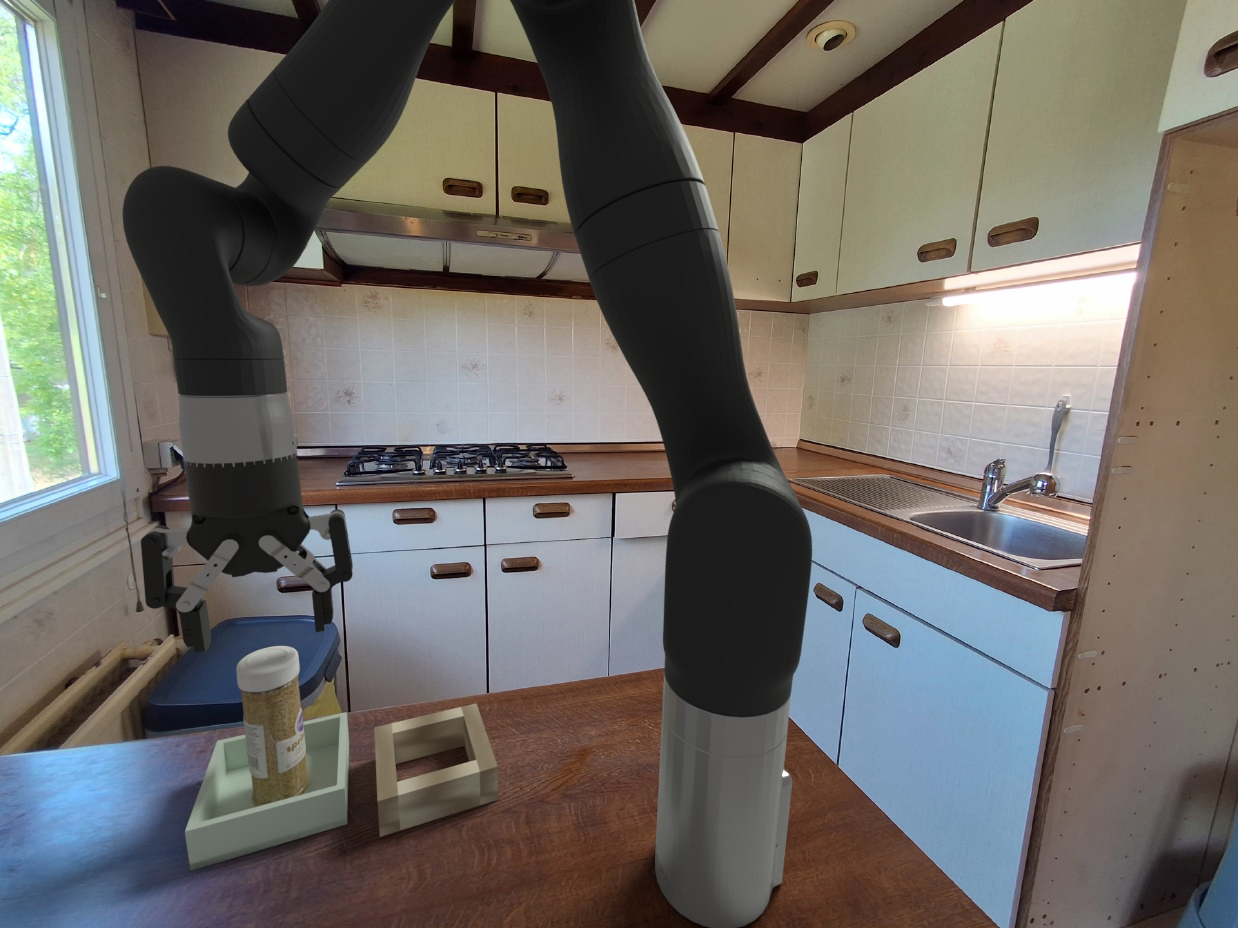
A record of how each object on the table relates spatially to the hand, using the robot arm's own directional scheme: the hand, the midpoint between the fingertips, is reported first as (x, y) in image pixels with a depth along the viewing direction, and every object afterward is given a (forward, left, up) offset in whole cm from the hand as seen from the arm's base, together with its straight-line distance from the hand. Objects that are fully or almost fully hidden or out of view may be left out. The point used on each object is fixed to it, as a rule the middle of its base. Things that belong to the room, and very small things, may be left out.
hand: (264, 637), depth 47 cm
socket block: (-13, +3, -16) cm, 21 cm away
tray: (0, 0, -16) cm, 16 cm away
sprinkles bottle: (0, 0, -16) cm, 16 cm away
